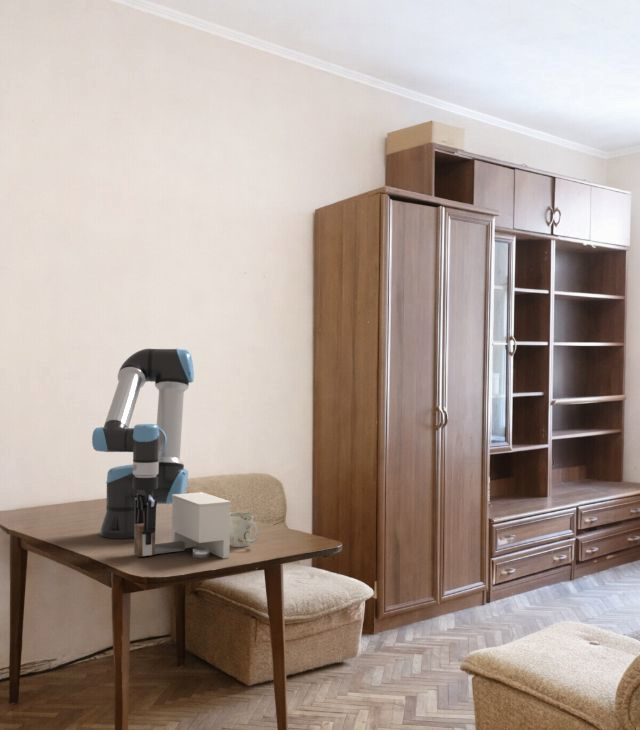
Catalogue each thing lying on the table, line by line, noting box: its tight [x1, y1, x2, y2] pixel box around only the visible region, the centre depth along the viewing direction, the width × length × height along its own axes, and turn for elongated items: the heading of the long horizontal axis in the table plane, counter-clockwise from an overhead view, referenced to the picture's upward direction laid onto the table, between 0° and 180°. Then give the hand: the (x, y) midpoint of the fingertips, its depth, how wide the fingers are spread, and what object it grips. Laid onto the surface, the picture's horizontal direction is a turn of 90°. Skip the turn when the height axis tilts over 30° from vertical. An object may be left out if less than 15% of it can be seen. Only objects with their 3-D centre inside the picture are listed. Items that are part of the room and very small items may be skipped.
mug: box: [230, 511, 259, 548], centre depth 251 cm, size 8×13×10 cm, turn 51°
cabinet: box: [171, 491, 232, 559], centre depth 241 cm, size 20×10×17 cm, turn 34°
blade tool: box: [133, 523, 186, 558], centre depth 239 cm, size 4×15×9 cm, turn 123°
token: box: [192, 547, 210, 559], centre depth 237 cm, size 5×5×2 cm
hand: (144, 553), depth 236 cm, fingers closed on blade tool, 4 cm apart
